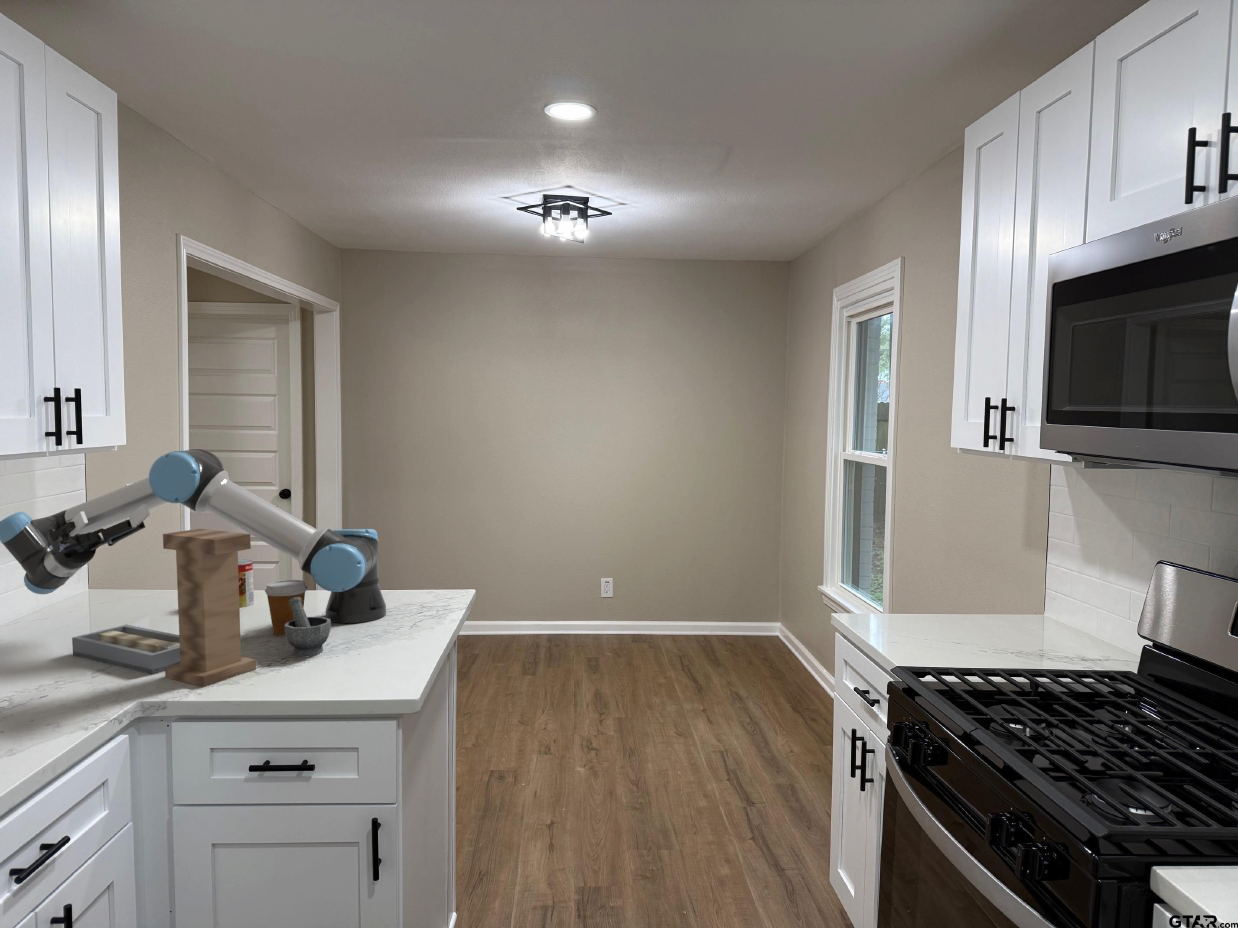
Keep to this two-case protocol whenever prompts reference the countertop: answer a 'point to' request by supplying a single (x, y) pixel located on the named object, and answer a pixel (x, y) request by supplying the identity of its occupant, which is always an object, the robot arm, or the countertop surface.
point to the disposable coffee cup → (283, 601)
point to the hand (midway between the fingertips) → (116, 512)
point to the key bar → (136, 641)
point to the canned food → (245, 582)
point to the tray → (128, 650)
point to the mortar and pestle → (306, 630)
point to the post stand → (208, 605)
